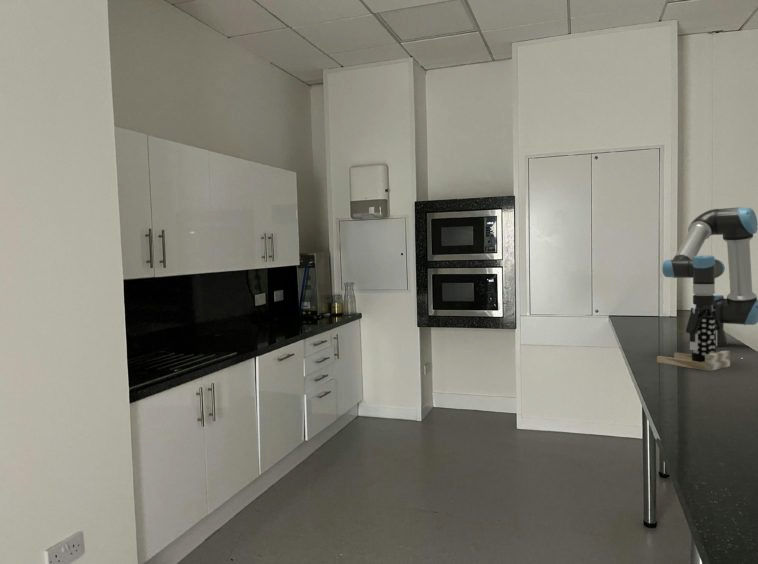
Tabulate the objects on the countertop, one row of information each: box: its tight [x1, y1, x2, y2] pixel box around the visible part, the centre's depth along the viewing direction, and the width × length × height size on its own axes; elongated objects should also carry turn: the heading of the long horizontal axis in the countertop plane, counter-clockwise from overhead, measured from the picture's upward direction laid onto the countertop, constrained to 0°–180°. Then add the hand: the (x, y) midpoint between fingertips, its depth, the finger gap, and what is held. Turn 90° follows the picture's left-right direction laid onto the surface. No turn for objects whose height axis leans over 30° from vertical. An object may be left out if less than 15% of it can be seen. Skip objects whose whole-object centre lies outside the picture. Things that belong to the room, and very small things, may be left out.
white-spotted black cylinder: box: [691, 316, 717, 363], centre depth 235 cm, size 8×8×20 cm
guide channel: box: [656, 350, 731, 372], centre depth 239 cm, size 14×22×6 cm, turn 31°
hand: (703, 348), depth 235 cm, fingers open, 13 cm apart
